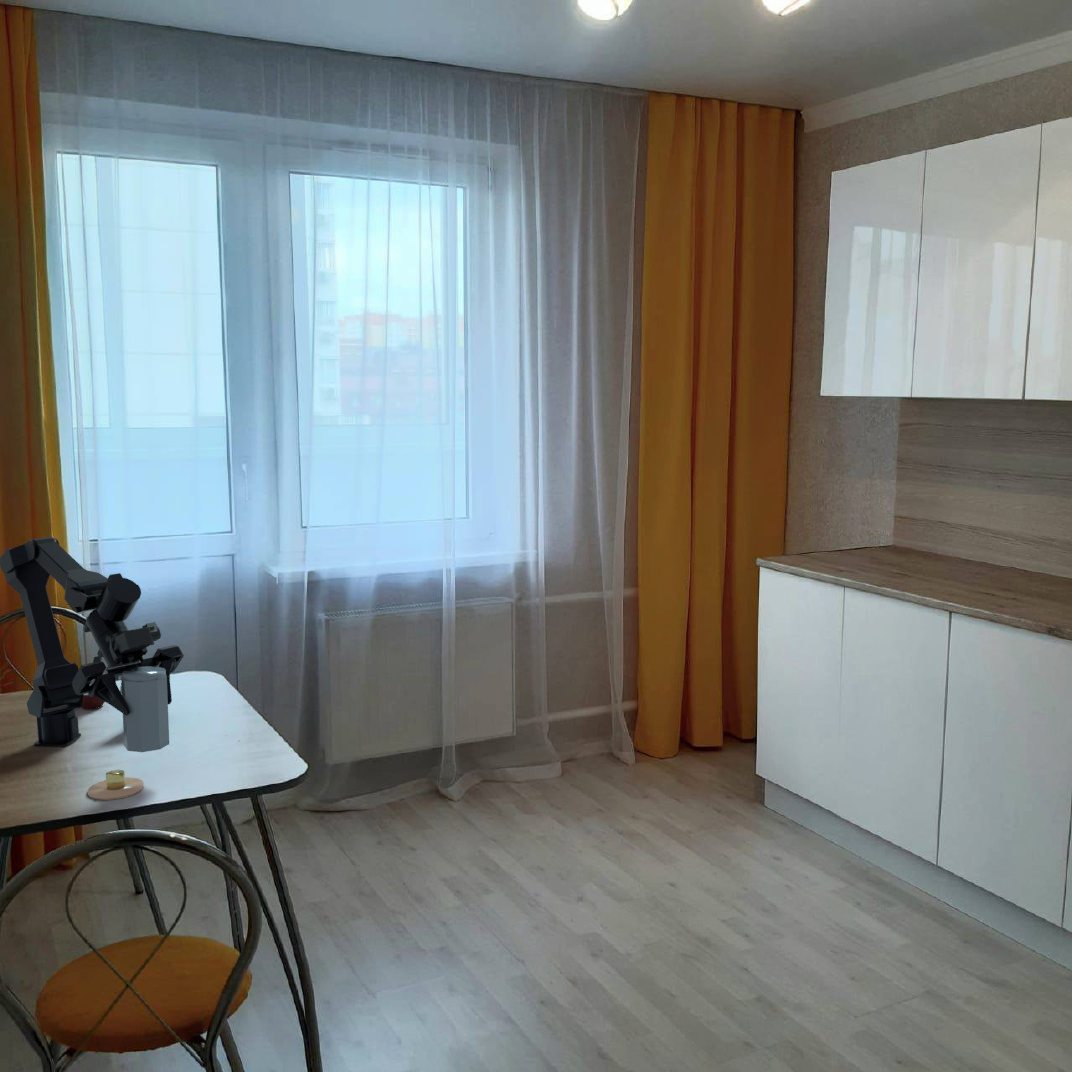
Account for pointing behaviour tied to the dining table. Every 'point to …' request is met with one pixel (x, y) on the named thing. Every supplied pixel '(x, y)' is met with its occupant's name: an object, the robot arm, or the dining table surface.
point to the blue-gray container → (145, 708)
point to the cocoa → (92, 697)
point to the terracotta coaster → (103, 793)
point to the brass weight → (115, 780)
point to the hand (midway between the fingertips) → (149, 708)
